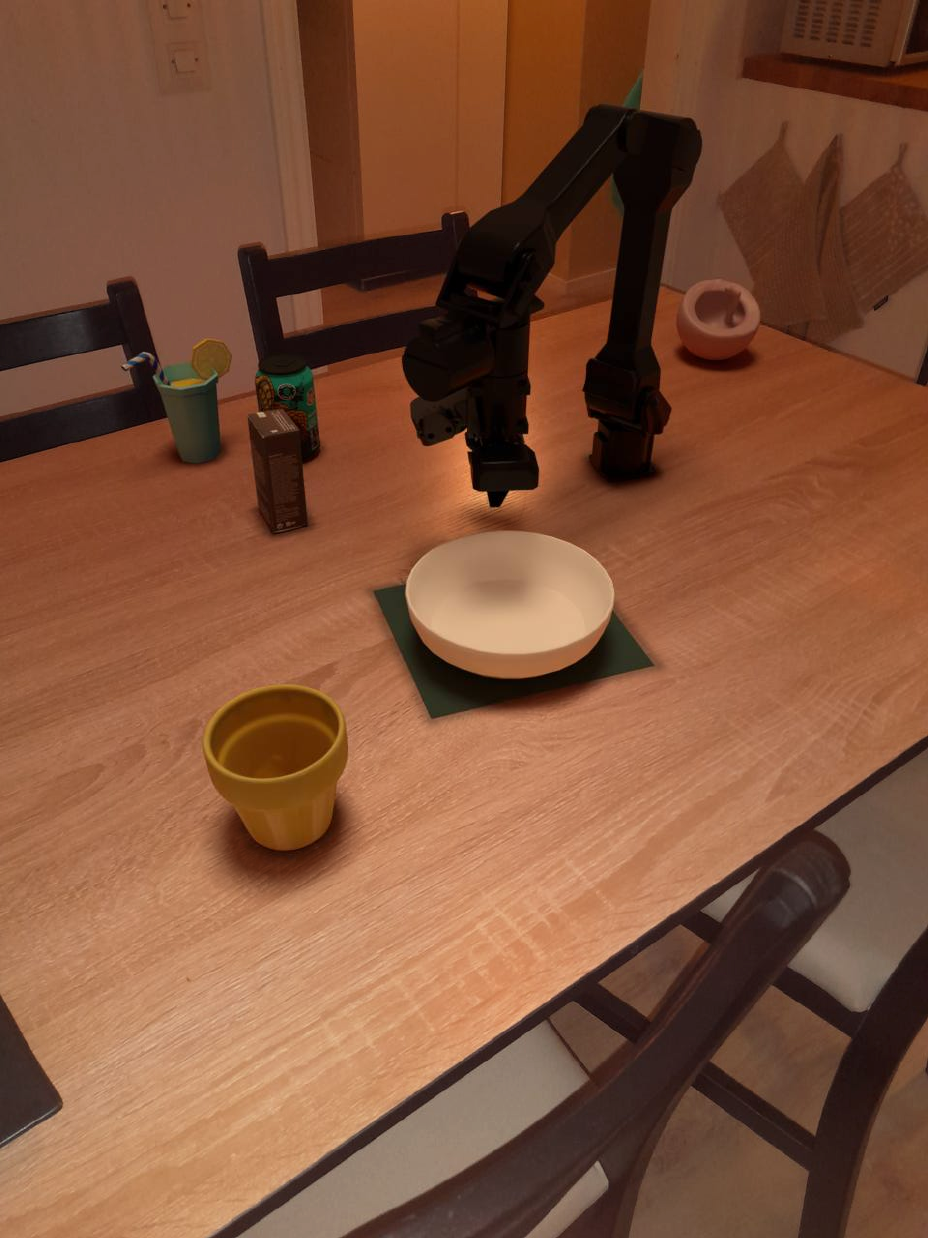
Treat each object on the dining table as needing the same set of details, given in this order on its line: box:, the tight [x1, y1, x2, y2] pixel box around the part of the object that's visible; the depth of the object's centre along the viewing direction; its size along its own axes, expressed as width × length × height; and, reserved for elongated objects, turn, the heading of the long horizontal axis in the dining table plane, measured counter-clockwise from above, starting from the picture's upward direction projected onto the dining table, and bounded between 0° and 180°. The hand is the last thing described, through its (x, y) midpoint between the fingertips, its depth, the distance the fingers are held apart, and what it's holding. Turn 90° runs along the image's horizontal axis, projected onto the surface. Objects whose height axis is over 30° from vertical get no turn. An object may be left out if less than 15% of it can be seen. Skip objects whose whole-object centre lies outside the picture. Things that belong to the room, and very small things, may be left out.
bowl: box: [405, 529, 616, 679], centre depth 92 cm, size 20×20×6 cm
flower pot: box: [202, 683, 349, 852], centre depth 73 cm, size 10×10×10 cm
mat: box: [372, 583, 655, 720], centre depth 95 cm, size 22×20×1 cm
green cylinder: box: [254, 352, 321, 462], centre depth 119 cm, size 7×7×12 cm
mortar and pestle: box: [675, 278, 762, 361], centre depth 143 cm, size 12×12×11 cm
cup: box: [120, 337, 233, 465], centre depth 118 cm, size 14×8×15 cm, turn 139°
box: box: [247, 409, 309, 534], centre depth 107 cm, size 6×4×12 cm
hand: (494, 505), depth 102 cm, fingers closed
